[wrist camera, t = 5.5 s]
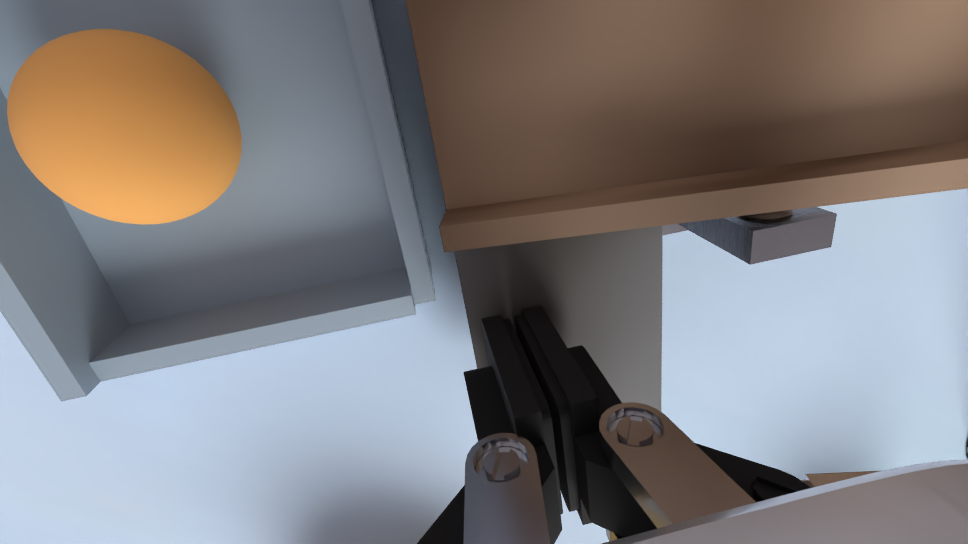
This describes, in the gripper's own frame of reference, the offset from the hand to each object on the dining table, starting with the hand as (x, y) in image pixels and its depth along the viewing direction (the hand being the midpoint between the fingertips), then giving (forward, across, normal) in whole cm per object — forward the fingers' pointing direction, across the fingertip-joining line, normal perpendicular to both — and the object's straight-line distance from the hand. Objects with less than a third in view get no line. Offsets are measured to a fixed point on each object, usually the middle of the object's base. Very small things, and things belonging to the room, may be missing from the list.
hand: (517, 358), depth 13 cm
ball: (+1, +7, -7) cm, 10 cm away
